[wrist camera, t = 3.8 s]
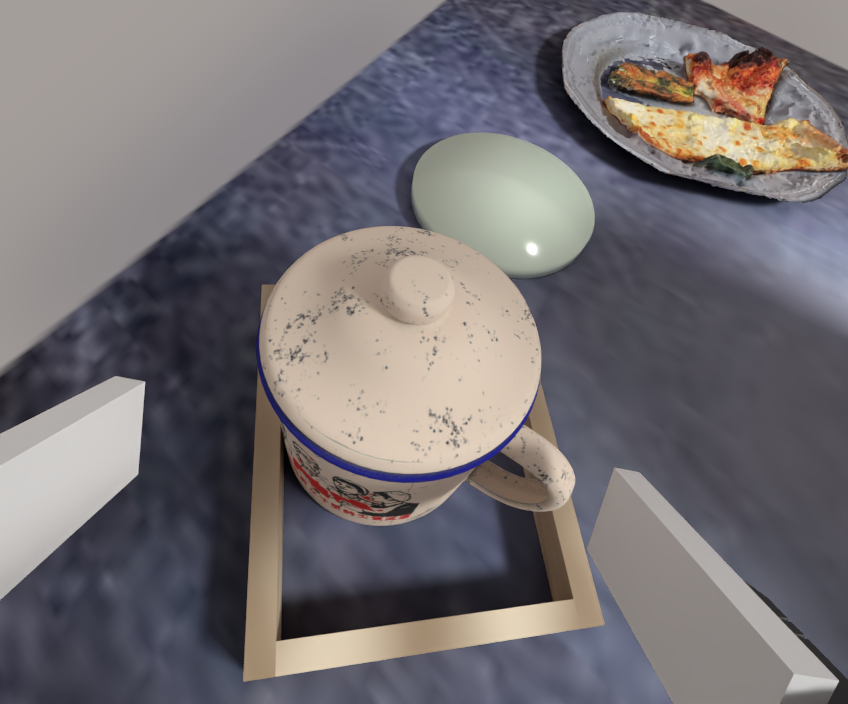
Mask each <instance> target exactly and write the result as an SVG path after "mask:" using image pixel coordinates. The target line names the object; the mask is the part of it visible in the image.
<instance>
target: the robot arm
mask: <svg viewBox="0 0 848 704" xmlns="http://www.w3.org/2000/svg"><path fill="white" fill-rule="evenodd" d="M144 392H145V381H139V380H134V379H128V378H123V377H118V376H115V377H113V378H111V379H109V380H107V381H105V382H103V383H101V384H99V385H97V386H95V387H93V388H91V389H89V390H87V391H85V392H83V393H81V394H79V395H77V396H75V397H73V398H71V399H69V400H67V401H65V402H63V403H61V404H59V405H57V406H55V407H53V408H51V409H49V410H47V411H45V412H43V413H41V414H39V415H37V416H35V417H33V418H31V419H29V420H27V421H25V422H23V423H21V424H19V425H17V426H15V427H13V428H11V429H9V430H7V431H5V432H3V433H1V434H0V599H2V598H3V597H4V596H5V595H6V594H7V593H8V592H9V591H10V590H11V589H13V588H14V587H15V586H16V585H17V584H18V583H19V582H20V581H21V580H23V579H24V578H25V577H26V576H27V575H28V574H29V573H30V572H31V571H32V570H34V569H35V568H36V567H37V566H38V565H39V564H40V563H41V562H42V561H43V560H45V559H46V558H47V557H48V556H49V555H50V554H51V553H52V552H53V551H54V550H56V549H57V548H58V547H59V546H60V545H61V544H62V543H63V542H64V541H65V540H67V539H68V538H69V537H70V536H71V535H72V534H73V533H74V532H75V531H76V530H78V529H79V528H80V527H81V526H82V525H83V524H84V523H85V522H86V521H87V520H89V519H90V518H91V517H92V516H93V515H94V514H95V513H96V512H97V511H98V510H100V509H101V508H102V507H103V506H104V505H105V504H106V503H107V502H108V501H109V500H111V499H112V498H113V497H114V496H115V495H116V494H117V493H118V492H119V491H120V490H122V489H123V488H124V487H125V486H126V485H127V484H128V483H129V482H130V481H131V480H133V479H134V478H135V477H136V476H137V475H138V470H139V457H140V444H141V431H142V418H143V405H144ZM587 551H588V553H589V554H590V556H591V558H592V560H593V562H594V563H595V565H596V567H597V569H598V570H599V572H600V574H601V576H602V578H603V579H604V581H605V583H606V585H607V587H608V588H609V590H610V592H611V594H612V595H613V597H614V599H615V601H616V603H617V604H618V606H619V608H620V610H621V611H622V613H623V615H624V617H625V619H626V620H627V622H628V624H629V626H630V627H631V629H632V631H633V633H634V635H635V636H636V638H637V640H638V642H639V644H640V645H641V647H642V649H643V651H644V652H645V654H646V656H647V658H648V660H649V661H650V663H651V665H652V667H653V668H654V670H655V672H656V674H657V676H658V677H659V679H660V681H661V683H662V684H663V686H664V688H665V690H666V692H667V693H668V695H669V697H670V699H671V701H672V702H673V704H848V680H847V679H846V677H845V676H844V675H843V674H842V673H841V672H840V671H839V670H838V669H837V668H836V667H835V666H834V665H833V664H832V663H831V662H830V661H829V660H828V659H827V658H826V657H825V656H824V655H823V654H822V653H821V652H820V651H819V650H818V649H817V648H816V647H815V646H814V645H813V644H812V643H811V642H810V641H809V640H808V639H804V635H803V634H802V633H801V632H800V630H799V629H798V628H797V627H796V626H795V625H794V624H793V623H792V622H788V620H787V619H788V618H787V617H786V616H785V615H784V614H783V613H782V612H781V611H780V610H779V609H778V608H777V607H776V606H775V605H774V604H773V603H772V602H771V601H770V600H769V599H768V598H767V597H765V596H764V595H763V594H761V593H760V592H759V591H757V590H756V589H755V588H753V587H752V586H750V585H749V584H748V583H746V582H745V581H744V580H742V579H741V578H740V577H739V576H738V575H737V574H736V572H735V571H734V570H733V569H732V568H731V567H730V566H729V565H728V564H727V563H726V562H725V561H724V560H723V559H722V558H721V557H720V556H719V555H718V554H717V553H716V552H715V551H714V550H713V548H712V547H711V546H710V545H709V544H708V543H707V542H706V541H705V540H704V539H703V538H702V537H701V536H700V535H699V534H698V533H697V532H696V531H695V530H694V529H693V528H692V527H691V526H690V524H689V523H688V522H687V521H686V520H685V519H684V518H683V517H682V516H681V515H680V514H679V513H678V512H677V511H676V510H675V509H674V508H673V507H672V506H671V505H670V504H669V503H668V502H667V500H666V499H665V498H664V497H663V496H662V495H661V494H660V493H659V492H658V491H657V490H656V489H655V488H654V487H653V486H652V485H651V484H650V483H649V482H648V481H647V480H646V479H645V477H644V476H643V475H642V474H641V473H640V472H636V471H631V470H625V469H620V468H614V470H613V473H612V476H611V479H610V482H609V485H608V488H607V491H606V494H605V497H604V500H603V503H602V506H601V509H600V512H599V515H598V518H597V520H596V523H595V526H594V529H593V532H592V535H591V538H590V541H589V544H588V547H587Z"/></svg>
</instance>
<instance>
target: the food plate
mask: <svg viewBox="0 0 848 704" xmlns="http://www.w3.org/2000/svg"><path fill="white" fill-rule="evenodd" d="M650 16H652V15H650ZM650 16H647V14H646V15H644V14H642V13H639V12H636V13H621V12H618V13H612V14H608V15H601V16H599V17H598V18H595V19H591V20H590V21H587V22H583V23H581V24H579V25H578V26H577V27H576V26H575V27H574V28H572V30H571V31H570V32H569V34H568V35H567V37H566V39H565V40H564V41H565V42H564V41H563V43H564V44H563V46H562V49H563V50H562V57H563V58H562V61H561V62H562V66H561V67H562V69H563V70H562V72H563V73H562V74H564V76H563V78H564V80H563V81H564V85H565V86H564V87H565V89H566V91H567V93H568V94H569V96H570V97H571V98H572V100H573V101H574V103H575V104H576V105H577V104H578V106H579V109H581V110H582V111H583V112H584V114H586V117H587V118H588V119H589V120H591V122H592V123H593V125H595V126H596V127H598V129H600V130H601V131H602V133H603V134H606V135H607V137H609V138H611V139H612V140H614V142H615V143H617V144H618V145H619V146H621V147H622V148H624V149H625V150H627V151H628V152H629V151H630V152H631V153H632V154H633V155H635V156H636V157H638V158H640V159H641V160H642V161H644V162H645V163H648V164H650V165H652V166H653V167H655V168H656V169H658V170H659V171H661V172H665V173H666V174H673V175H678V176H681V177H684V178H688V179H695V180H697V181H701V182H704V184H705V183H709V184H711V185H712V186H718V187H720V188H725V189H730V190H734V191H743V192H746V193H749V194H752V195H759V196H766V197H769V198H770V199H771V198H776V199H779V201H781V200H782V199H783V200H782V201H786V202H788V201H789V202H791V201H792V202H793V201H794V202H795V201H796V202H803V203H804V202H808V201H810V202H812V201H814V200H816V199H819V198H822V196H824V195H825V194H826V193H828V191H830V190H832V188H834V187H835V186H836V185H837V186H838V184H840V183H842V181H844V180H845V179H846V174H847V169H848V140H847V137H846V133H845V128H844V126H843V122H842V121H841V120H840V118H839V117H838V116H837V114H836V113H835V111H834V110H833V108H832V107H831V105H830V104H829V103H828V102H827V101H826V99H825V98H824V97H822V96H821V95H820V94H819V93H818V92H817V91H815V90H814V89H813V88H812V87H811V86H810V85H809V84H808V83H807V82H806V81H805V80H803V78H801V77H800V76H799V75H798V74H797V73H796V72H794V71H792V70H791V69H790V68H789V67H787V66H786V65H788V64H789V63H788V62H789V61H790V60H789V61H788V59H786V58H783V59H778V58H776V57H775V56H774V55H773V52H772V51H769V50H768V49H765V48H763V47H761V48H758V50H757V49H756V48H753V47H751V46H746V45H745V44H742V43H740V42H737V41H736V40H733V39H731V38H730V37H729V36H727V35H726V34H722V33H720V32H717V33H716V32H715V31H714V30H710V31H709V30H708V28H706V29H705V28H704V29H703V27H702V28H700V26H699V27H698V26H694V25H690V24H689V25H688V24H685V23H683V22H679V21H675V22H673V20H667V19H664V18H659V17H654V16H652V17H650ZM639 56H641V57H645V58H644V59H646V58H653V59H655V60H652V61H655V62H657V63H661V62H660V61H657V60H661V59H657V58H656V57H659V58H663V59H665V60H664V61H663V60H661V61H662V62H665V63H667V64H668V65H669V66H670V67H671V68H672V70H670V69H668V68H665V67H663V69H664V70H665V71H661V70H655V69H653V68H652V67H651V66H649V65H644V64H643V66H645V67H647V69H648V70H647V69H646V68H644V67H642V66H640V65H637V64H636V65H635V64H633V63H623V64H621V65H619V64H618V66H619V67H618V69H615V71H612V72H611V74H610V76H609V79H608V82H607V83H608V84H609V85H610V86H609V88H610V90H611V91H614V92H617V93H618V94H622V95H625V96H627V97H633V98H636V99H638V100H639V101H643V102H644V103H642V105H640V104H639V103H633V102H627V101H625V100H623V99H618V98H612V97H610V96H608V97H607V98H606V99H605V100H604V101H603V99H602V91H601V89H602V88H601V80H600V76H601V75H602V74H603V71H604V69H605V70H606V69H607V65H609V66H612V65H613V62H614V61H617V60H618V61H621V60H622V61H623V62H625V61H624V58H629V59H630V60H637V61H639V60H643V59H642V58H639ZM668 59H670V60H668ZM646 61H649V60H647V59H646ZM669 61H671V62H669ZM672 61H674V62H676V63H674V62H672ZM662 64H663V63H662ZM671 64H672V65H671ZM663 65H664V66H667V65H665V64H663ZM676 66H679V67H680V68H678V67H677V68H676ZM674 67H675V68H676V69H674ZM650 68H651V69H650ZM669 71H670V72H669ZM647 103H649V106H654V107H649V106H646V105H648V104H647ZM662 104H663V105H662ZM644 105H645V106H644Z"/></svg>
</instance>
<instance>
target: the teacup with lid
mask: <svg viewBox="0 0 848 704" xmlns="http://www.w3.org/2000/svg"><path fill="white" fill-rule="evenodd" d="M256 356H257V365H258V371H259V375H260V379H261V383H262V386H263V388H264V391H265V394H266V396H267V398H268V400H269V402H270V404H271V406H272V408H273V410H274V411H275V413H276V414H277V416H278V417H279V420H280V424H281V428H282V432H283V436H284V440H285V445H286V449H287V453H288V457H289V461H290V463H291V466H292V469H293V471H294V473H295V475H296V477H297V479H298V480H299V482H300V483H301V485H302V486H303V488H304V489H305V490H306V491H307V493H308V494H309V495H310V496H311V497H312V498H313V499H314V500H315V501H316V502H318V503H319V504H320V505H321V506H322V507H324V508H325V509H327V510H328V511H330V512H331V513H333V514H335V515H337V516H339V517H341V518H344V519H346V520H349V521H352V522H356V523H360V524H366V525H375V526H386V525H395V524H401V523H405V522H409V521H412V520H414V519H417V518H420V517H422V516H424V515H426V514H428V513H429V512H431V511H432V510H434V509H436V508H437V507H438V506H439V505H441V504H442V503H443V502H444V501H445V500H446V499H447V498H448V497H449V496H450V495H451V494H452V493H453V492H454V491H455V490H456V489H457V488H458V486H459V485H460V484H461V483H462V482H463V481H466V482H468V483H469V484H471V485H472V486H474V487H475V488H477V489H478V490H480V491H481V492H483V493H485V494H486V495H488V496H490V497H492V498H494V499H496V500H498V501H500V502H502V503H504V504H507V505H509V506H512V507H515V508H519V509H523V510H528V511H537V512H545V511H552V510H556V509H558V508H560V507H562V506H563V505H564V504H565V503H566V502H567V500H568V499H569V497H570V495H571V493H572V491H573V488H574V485H575V475H574V471H573V469H572V467H571V465H570V463H569V462H568V460H567V459H566V458H565V456H564V455H563V454H562V453H561V452H560V451H559V450H558V449H557V448H556V447H555V446H554V445H553V444H552V443H550V442H549V441H548V440H546V439H545V438H544V437H542V436H541V435H539V434H538V433H536V432H535V431H533V430H532V429H530V428H529V427H527V426H525V425H524V423H525V421H526V420H527V418H528V416H529V414H530V412H531V410H532V408H533V405H534V402H535V400H536V397H537V393H538V388H539V383H540V375H541V346H540V340H539V335H538V331H537V328H536V324H535V321H534V318H533V316H532V314H531V311H530V309H529V307H528V305H527V303H526V301H525V299H524V298H523V296H522V295H521V293H520V292H519V290H518V289H517V287H516V286H515V285H514V283H513V282H512V281H511V280H510V279H509V277H508V276H507V275H506V274H505V273H504V272H503V271H502V270H501V269H500V268H499V267H497V266H496V265H495V264H494V263H493V262H492V261H490V260H489V259H488V258H486V257H485V256H484V255H482V254H481V253H479V252H478V251H476V250H475V249H473V248H471V247H469V246H468V245H466V244H464V243H462V242H460V241H457V240H455V239H453V238H450V237H448V236H445V235H442V234H439V233H436V232H432V231H428V230H424V229H419V228H412V227H402V226H380V227H370V228H363V229H358V230H354V231H350V232H347V233H344V234H340V235H338V236H335V237H333V238H330V239H328V240H326V241H324V242H322V243H320V244H319V245H317V246H315V247H314V248H312V249H311V250H309V251H308V252H306V253H305V254H304V255H303V256H301V257H300V258H299V259H298V260H297V261H296V262H294V263H293V264H292V265H291V266H290V267H289V268H288V269H287V271H286V272H285V273H284V274H283V275H282V277H281V278H280V279H279V281H278V282H277V284H276V285H275V287H274V288H273V290H272V292H271V294H270V296H269V298H268V300H267V303H266V305H265V307H264V310H263V313H262V315H261V318H260V323H259V327H258V333H257V341H256ZM498 452H501V453H503V454H505V455H506V456H508V457H509V458H511V459H512V460H514V461H515V462H517V463H518V464H520V465H521V466H523V467H524V468H525V469H527V470H528V471H529V472H531V473H532V474H533V475H534V476H535V477H536V478H537V479H538V480H536V479H529V478H524V477H521V476H518V475H515V474H512V473H510V472H508V471H506V470H504V469H502V468H500V467H499V466H497V465H495V464H493V463H492V462H490V461H489V459H491V458H492V457H493V456H494V455H496V454H497V453H498Z"/></svg>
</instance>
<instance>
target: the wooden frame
mask: <svg viewBox="0 0 848 704" xmlns="http://www.w3.org/2000/svg"><path fill="white" fill-rule="evenodd" d="M274 287H275V285H262V293H261V314H260V318H261V315H262V313H263V310H264V307H265V305H266V303H267V300H268V298H269V296H270V294H271V292H272V290H273V288H274ZM524 425H525V426H527V427H529V428H530V429H532V430H533V431H535V432H536V433H538V434H539V435H541V436H542V437H544V438H545V439H546V440H548V441H549V442H550V443H552V444H553V445H554V446H555V447H556V448H557V449H558V445H557V442H556V438H555V434H554V430H553V426H552V423H551V419H550V415H549V411H548V407H547V404H546V400H545V396H544V392H543V388H542V385H541V381H540V383H539V388H538V393H537V397H536V400H535V402H534V405H533V408H532V410H531V412H530V414H529V416H528V418H527V420H526V421H525V423H524ZM558 450H559V449H558ZM523 469H524V474H525V478H529V479H536V480H538V479H537V478H536V477H535V476H534V475H533V474H532V473H531V472H529V471H528V470H527V469H525V468H524V467H523ZM283 500H284V436H283V432H282V428H281V424H280V420H279V417H278V416H277V414H276V413H275V411H274V410H273V408H272V406H271V404H270V402H269V400H268V398H267V396H266V394H265V391H264V388H263V386H262V383H261V379H260V375H259V371H258V378H257V399H256V420H255V441H254V463H253V484H252V505H251V526H250V548H249V569H248V590H247V611H246V633H245V654H244V675H243V682H245V681H251V680H257V679H264V678H270V677H276V676H283V675H289V674H296V673H302V672H308V671H315V670H321V669H328V668H334V667H340V666H347V665H353V664H359V663H366V662H372V661H379V660H385V659H391V658H398V657H404V656H410V655H417V654H423V653H430V652H436V651H442V650H449V649H455V648H461V647H468V646H474V645H481V644H487V643H493V642H500V641H506V640H512V639H519V638H525V637H532V636H538V635H544V634H551V633H557V632H563V631H570V630H576V629H583V628H589V627H595V626H602V625H605V624H604V620H603V616H602V612H601V609H600V605H599V601H598V597H597V593H596V590H595V586H594V582H593V578H592V574H591V571H590V567H589V563H588V559H587V555H586V552H585V548H584V544H583V540H582V536H581V533H580V529H579V525H578V521H577V517H576V514H575V510H574V506H573V502H572V498H571V495H570V497H569V499H568V500H567V502H566V503H565V504H564V505H563V506H562V507H560V508H558V509H556V510H552V511H545V512H537V511H533V514H534V518H535V523H536V527H537V532H538V536H539V541H540V545H541V550H542V554H543V559H544V563H545V568H546V572H547V577H548V581H549V586H550V590H551V594H552V599H553V602H546V603H539V604H532V605H525V606H518V607H511V608H504V609H497V610H490V611H483V612H476V613H469V614H462V615H455V616H448V617H441V618H434V619H427V620H420V621H413V622H406V623H398V624H391V625H384V626H377V627H370V628H363V629H356V630H349V631H342V632H335V633H328V634H321V635H314V636H307V637H300V638H293V639H286V640H281V624H282V562H283Z"/></svg>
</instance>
